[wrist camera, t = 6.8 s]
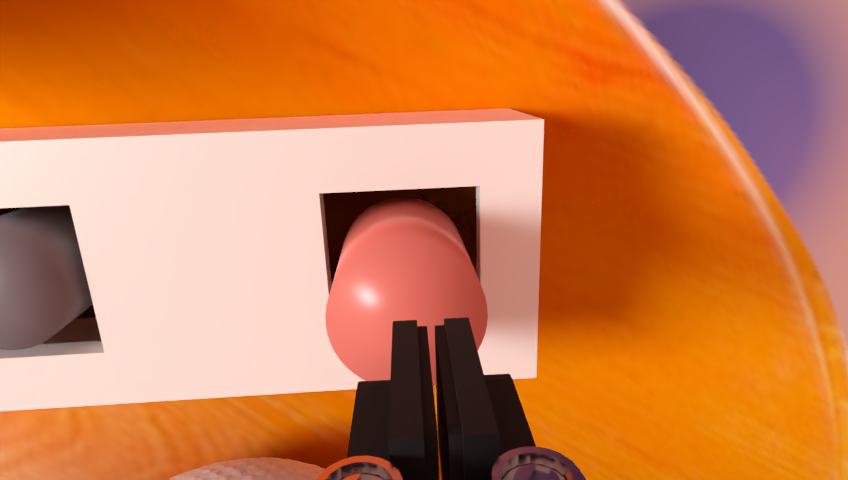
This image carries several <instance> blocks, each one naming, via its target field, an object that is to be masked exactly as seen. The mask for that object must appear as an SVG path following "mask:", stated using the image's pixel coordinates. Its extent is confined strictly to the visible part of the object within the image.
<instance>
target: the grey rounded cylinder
mask: <svg viewBox="0 0 848 480" xmlns="http://www.w3.org/2000/svg"><path fill="white" fill-rule="evenodd" d="M92 305H93V302H92V298H91V294H90V290H89V286H88V281H87V277H86V273H85V269H84V265H83V260H82V256H81V252H80V248H79V244H78V239H77V235H76V231H75V227H74V223H73V218H72V214H71V210H70V206H69V205H61V206H40V207H23V208H20V209H17V210H14V211H12V212H9V213H6V214H3V215H1V216H0V349H2V350H21V349H27V348H31V347H34V346H37V345H39V344H41V343H43V342H45V341H47V340H48V339H50V338H51V337H52V336H53V335H55V334H56V333H57V332H59V331H60V330H61V329H62V328H64V327H65V326H66V325H68V324H69V323H70V322H71V321H73V320H74V319H75V318H77V317H78V316H79V315H80V314H82V313H83V312H84V311H86V310H87V309H88V308H89V307H91V306H92Z"/></svg>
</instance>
